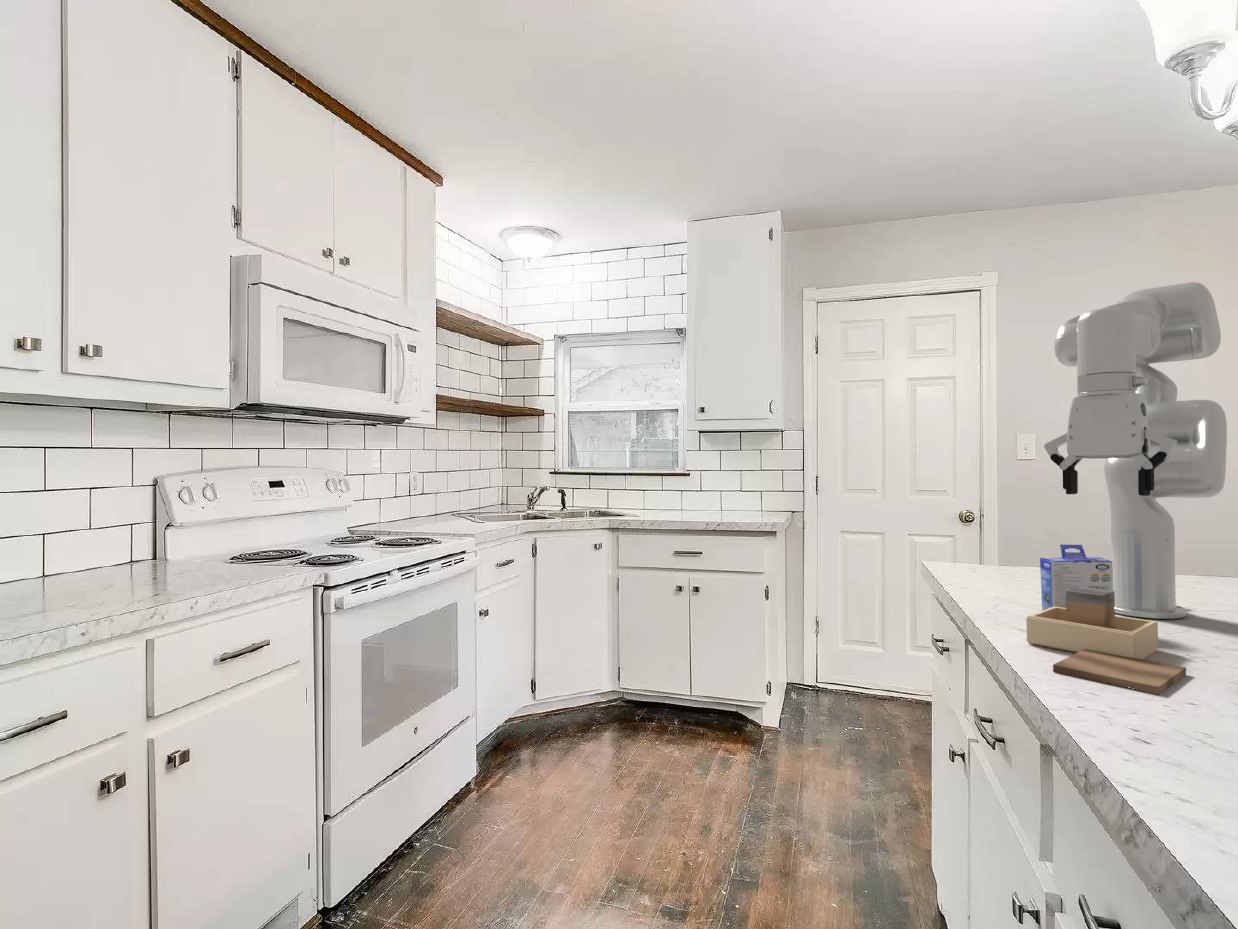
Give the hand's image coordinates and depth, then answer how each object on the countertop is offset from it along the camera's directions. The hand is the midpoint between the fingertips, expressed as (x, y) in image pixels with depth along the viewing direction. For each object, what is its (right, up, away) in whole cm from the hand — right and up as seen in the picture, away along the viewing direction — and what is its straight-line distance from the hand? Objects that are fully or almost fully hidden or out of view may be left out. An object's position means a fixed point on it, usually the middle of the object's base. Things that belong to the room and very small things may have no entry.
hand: (1106, 494), depth 105 cm
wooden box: (-2, -24, 0) cm, 24 cm away
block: (-2, -24, 0) cm, 25 cm away
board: (-7, -25, -12) cm, 28 cm away
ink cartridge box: (+4, -24, +12) cm, 28 cm away
